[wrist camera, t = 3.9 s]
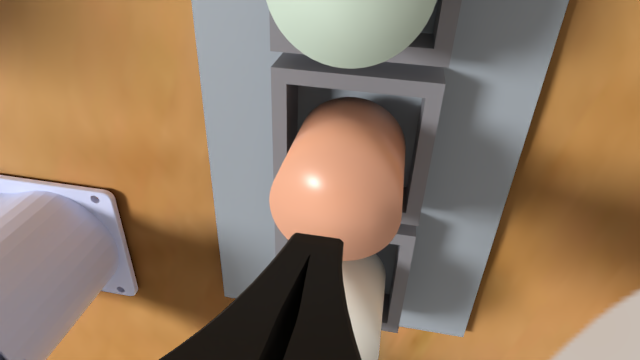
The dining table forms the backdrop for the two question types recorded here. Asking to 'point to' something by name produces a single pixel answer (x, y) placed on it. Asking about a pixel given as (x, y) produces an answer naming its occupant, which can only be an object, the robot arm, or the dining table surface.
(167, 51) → the dining table surface
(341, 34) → the button sage
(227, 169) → the panel
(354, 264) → the button cream
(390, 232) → the button terracotta
